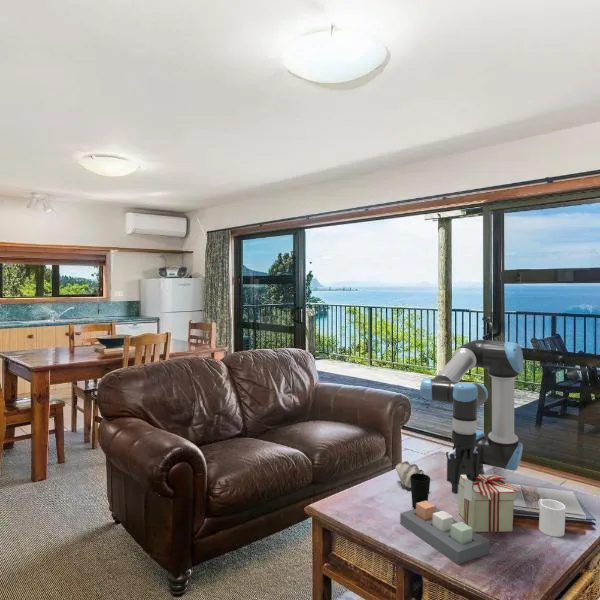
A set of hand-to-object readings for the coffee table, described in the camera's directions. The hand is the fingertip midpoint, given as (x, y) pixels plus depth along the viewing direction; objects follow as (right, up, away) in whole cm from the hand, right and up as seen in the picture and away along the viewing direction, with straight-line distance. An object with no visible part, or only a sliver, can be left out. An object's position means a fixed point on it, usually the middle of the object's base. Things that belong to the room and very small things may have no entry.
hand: (462, 500), depth 159 cm
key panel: (-4, -16, +8) cm, 19 cm away
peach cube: (-8, -13, +16) cm, 22 cm away
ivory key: (-4, -13, +8) cm, 16 cm away
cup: (-7, -15, +30) cm, 35 cm away
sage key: (0, -14, +1) cm, 14 cm away
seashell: (-6, -15, +48) cm, 51 cm away
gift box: (+16, -16, +18) cm, 29 cm away
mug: (+36, -17, +15) cm, 43 cm away
